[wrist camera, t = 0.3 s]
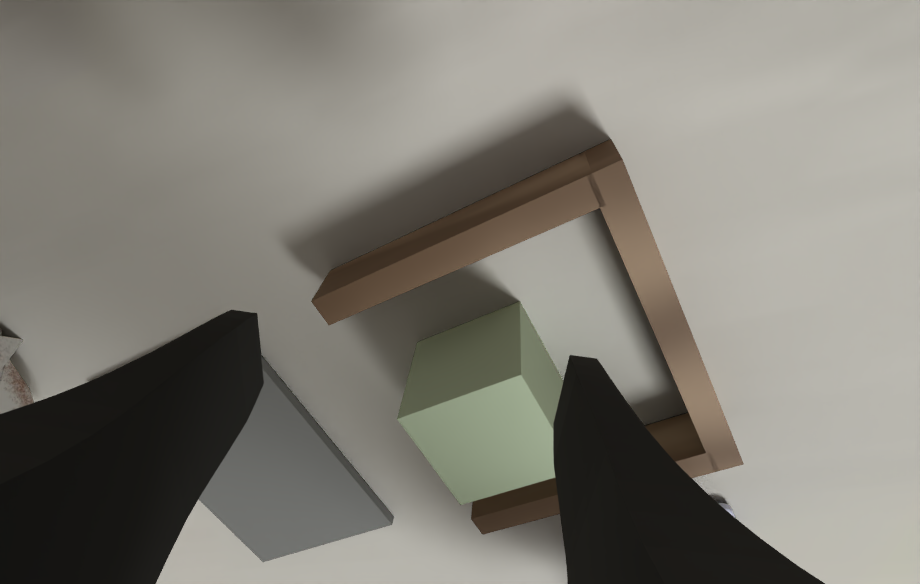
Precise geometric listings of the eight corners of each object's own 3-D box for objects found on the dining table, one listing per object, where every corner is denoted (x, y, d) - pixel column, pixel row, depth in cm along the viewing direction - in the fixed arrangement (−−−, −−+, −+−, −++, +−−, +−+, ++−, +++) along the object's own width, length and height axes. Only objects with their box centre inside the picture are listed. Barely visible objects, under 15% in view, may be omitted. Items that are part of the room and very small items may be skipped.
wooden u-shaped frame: (724, 422, 26) (743, 464, 23) (485, 492, 29) (482, 534, 27) (611, 138, 20) (622, 159, 18) (330, 270, 23) (311, 301, 21)
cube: (566, 386, 26) (577, 470, 21) (469, 419, 27) (460, 505, 23) (520, 300, 24) (521, 374, 19) (417, 341, 25) (397, 419, 21)
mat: (393, 516, 31) (392, 524, 30) (266, 554, 33) (262, 562, 33) (232, 321, 25) (228, 326, 25) (95, 385, 28) (88, 391, 27)
